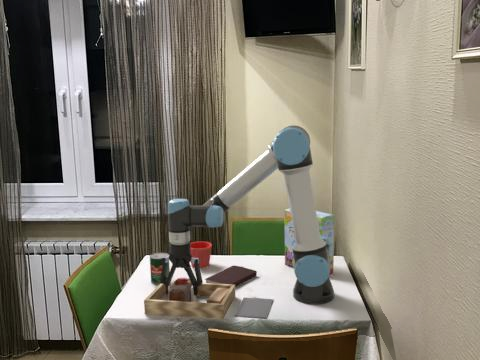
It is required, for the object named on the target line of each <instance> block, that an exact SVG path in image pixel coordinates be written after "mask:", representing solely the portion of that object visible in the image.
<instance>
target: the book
mask: <svg viewBox="0 0 480 360" xmlns="http://www.w3.org/2000/svg"><path fill="white" fill-rule="evenodd" d="M257 273H258V272H257V270H255V269H251V268H247V267H244V266H238V265H231V266H229V267H227V268H225V269H222V270H221V271H219V272H216V273H215V274H212V275H210V276H208V277H206V278H204V279H205V280H204V281H205V283H215V284H233V285H235V288H237V287H238V286H241V285H242V284H244V283H246V282H249V281H250V280H252V279H254V278H256V277H257Z"/></svg>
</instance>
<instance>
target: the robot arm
mask: <svg viewBox="0 0 480 360" xmlns="http://www.w3.org/2000/svg"><path fill="white" fill-rule="evenodd" d="M312 157H313V156H312V151H311V138H310V135H309V133H308V131H307V130H306V129H305V128H303V127H302V126H299V125H288V126H287V127H286V126H285V127H284V128H282V129H281V130H279V132H278V133H276V135H275V136H274V139H273V141H272V142H270V143H269V145H268V148H267V150H265V151H264V152H263V153H262V154H260V155H259V157H257V158H256V159H255V160H254V161H253V162H251V163H250V164H249V165H248V166H247V167H245V168H244V169H243V170H242V171H241V172H240V173H238V174H237V175H236V176H235V177H234V178H232V179H231V180H230V181H229V182H228V183H227V184H225V186H223V187H221V188H220V190H219V191H218V192H216V193H215V194H214V195H212V196H211V197H209V199H208V200H206V202H205V203H203V204H202V205H192V204H191V205H190V202H189V199H187V198H174V199H171V200H169V201H168V204H167V221H168V239H169V240H168V242H169V245H168V246H169V256H167V257H166V256H164V257H163V258H162V259H161V260H162V272H161V280H160V283H161V284H165V286H166V295H168V292H169V290H170V289H171V287H172V286H173V284H170V283H171V281H173V280H172V279H173V277H174V274H175V272H176V269H179V268H181V269H183V270H184V271H185V273H186V274H187V276H188V277H187V278H189V279H190V281H191V283H192V285H193V286H192V287H191V302H197V301H196V300H197V299H196V298H197V296H195V295H197V294H198V286H200V285H201V284H202V283H204V282H203V276H202V272H201V268H200V266H199V260H200V258H199V257H197V258H194V257H192V256H191V246H190V243H191V242H190V241H191V227H194V228H195V227H197V228H199V227H200V228H220V227H222V226H223V223H224V218H225V217H224V214H225V213H226V212H227V211H228V210H230V208H232V207H233V206H234V205H235V204H237V203H238V202H239V201H241V200H242V199H243V198H244V197H245V196H246V195H248V194H249V193H250V192H252V190H254V189H255V188H256V187H258V185H260V184H261V183H262V182H263V181H264V180H265V179H267V178H268V177H269V176H271V175H272V174H273V173H274V172H275V171H277V170H278V171H279V172H280V173H281V174H283V177H284V184H285V188H286V194H287V195H286V196H287V200H288V206H289V207H288V208H290V212H291V218H292V224H293V230H294V235H295V241H296V242H295V244H294V245H293V247H292V249H293V255H294V261H295V267H294V268H293V271H294V274H295V277H296V281H295V283H294V287H293V290H292V291H293V292H292V296H293V298H294V299H295V300H296V301H298V302H300V303H303V304H311V305H312V304H313V305H320V304H326V303H329V302H331V301H333V300H334V298H335V291H334V288H333V284H332V281H331V278H330V275H331V274H330V242H329V239H328V238H327V237H324V236H320V232H319V226H318V220H317V214H316V211H317V209H316V202H315V198H314V192H313V185H312V179H311V173H310V170H311V168H312V166H313V165H314V163H313V158H312ZM168 261H169V262H170V263H171V266H170V267H171V268H170V273H169V275H168V278H167V280H166V274H167V266H168ZM191 261H192V262H193V264H194V272H193V270H192V265H191Z"/></svg>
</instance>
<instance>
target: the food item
mask: <svg viewBox="0 0 480 360" xmlns="http://www.w3.org/2000/svg"><path fill="white" fill-rule="evenodd" d="M173 281H174V283H173V286H172V287H171V289H170V290H169V292H168V294H167V295H168V300H170V301H186V302H191V287H192V286H193V285H192V283H191V281H190V279H189V277H178V278H177V279H175V280H173Z"/></svg>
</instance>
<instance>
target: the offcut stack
mask: <svg viewBox="0 0 480 360" xmlns="http://www.w3.org/2000/svg"><path fill="white" fill-rule="evenodd" d="M228 290H229V289H227V288H217V289H216V290H215V291H214V292H213V294H212V295H211V296H210V297H207V299H206V303H218V304H221V302H222V300H223V299H224V297H225V295H226V294H227V292H228Z"/></svg>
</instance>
